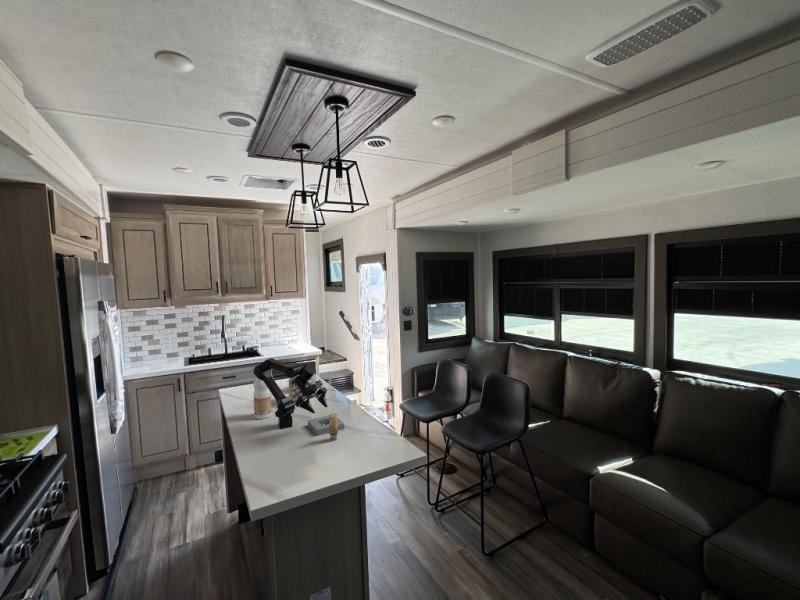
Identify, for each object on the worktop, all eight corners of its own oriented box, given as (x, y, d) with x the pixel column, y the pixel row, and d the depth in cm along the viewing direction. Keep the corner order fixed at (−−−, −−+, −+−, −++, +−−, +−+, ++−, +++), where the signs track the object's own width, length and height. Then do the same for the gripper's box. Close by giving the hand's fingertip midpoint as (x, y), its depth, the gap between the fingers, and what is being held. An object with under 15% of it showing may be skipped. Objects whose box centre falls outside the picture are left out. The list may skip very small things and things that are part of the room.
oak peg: (331, 441, 183) (330, 417, 182) (328, 438, 186) (327, 414, 185) (339, 439, 185) (338, 415, 184) (336, 436, 189) (335, 412, 188)
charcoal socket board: (317, 435, 190) (317, 430, 190) (307, 425, 203) (307, 420, 202) (344, 428, 198) (344, 423, 198) (333, 419, 211) (333, 414, 210)
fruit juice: (262, 420, 210) (260, 371, 208) (250, 417, 215) (248, 370, 213) (275, 414, 219) (273, 368, 217) (263, 412, 223) (261, 366, 221)
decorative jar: (288, 405, 234) (287, 377, 232) (289, 399, 245) (288, 372, 244) (308, 403, 237) (307, 376, 235) (308, 397, 248) (307, 371, 247)
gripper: (298, 381, 182) (316, 407, 177) (324, 372, 198) (341, 395, 194) (287, 394, 187) (304, 419, 182) (313, 384, 203) (329, 407, 198)
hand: (320, 410), depth 189 cm, fingers open, 9 cm apart
